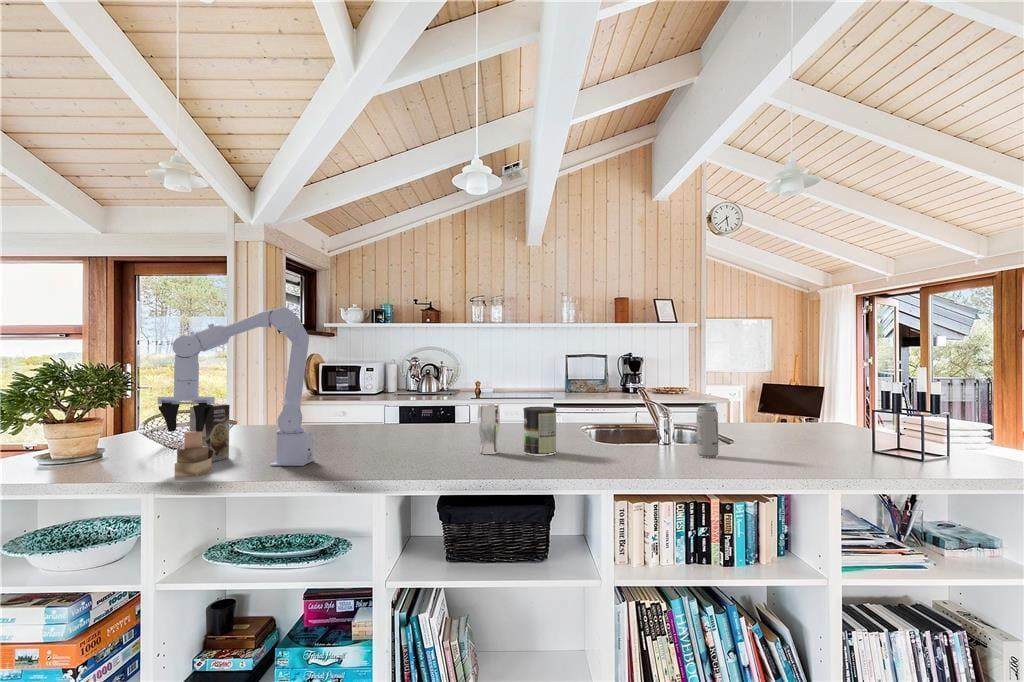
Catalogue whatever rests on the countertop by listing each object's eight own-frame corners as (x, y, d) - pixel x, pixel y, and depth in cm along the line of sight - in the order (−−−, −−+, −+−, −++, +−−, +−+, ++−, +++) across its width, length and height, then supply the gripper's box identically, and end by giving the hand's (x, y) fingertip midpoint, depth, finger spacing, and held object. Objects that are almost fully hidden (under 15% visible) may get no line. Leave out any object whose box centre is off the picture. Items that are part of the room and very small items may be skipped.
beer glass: (499, 455, 167) (499, 406, 167) (476, 455, 167) (476, 406, 167) (500, 451, 174) (500, 404, 174) (478, 451, 174) (478, 404, 174)
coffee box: (207, 463, 155) (208, 406, 156) (187, 463, 156) (188, 406, 157) (230, 457, 164) (230, 404, 164) (211, 457, 165) (212, 403, 166)
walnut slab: (208, 459, 144) (208, 446, 145) (194, 463, 139) (194, 449, 140) (191, 459, 145) (191, 445, 145) (177, 462, 140) (177, 449, 140)
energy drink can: (718, 459, 159) (717, 407, 160) (696, 457, 161) (695, 406, 162) (718, 455, 165) (717, 405, 165) (697, 454, 167) (697, 405, 167)
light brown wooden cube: (205, 446, 144) (205, 431, 144) (196, 449, 140) (196, 433, 140) (190, 446, 144) (190, 431, 144) (180, 449, 140) (181, 433, 140)
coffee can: (521, 456, 165) (521, 409, 166) (525, 450, 175) (525, 406, 176) (555, 456, 164) (555, 409, 164) (557, 450, 174) (557, 406, 174)
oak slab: (211, 472, 145) (211, 459, 145) (197, 477, 139) (197, 463, 139) (189, 472, 145) (189, 458, 145) (174, 477, 139) (174, 463, 139)
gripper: (221, 379, 150) (220, 429, 150) (170, 379, 151) (169, 429, 151) (206, 381, 143) (205, 432, 143) (152, 381, 144) (151, 432, 144)
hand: (185, 431), depth 146 cm, fingers open, 7 cm apart
